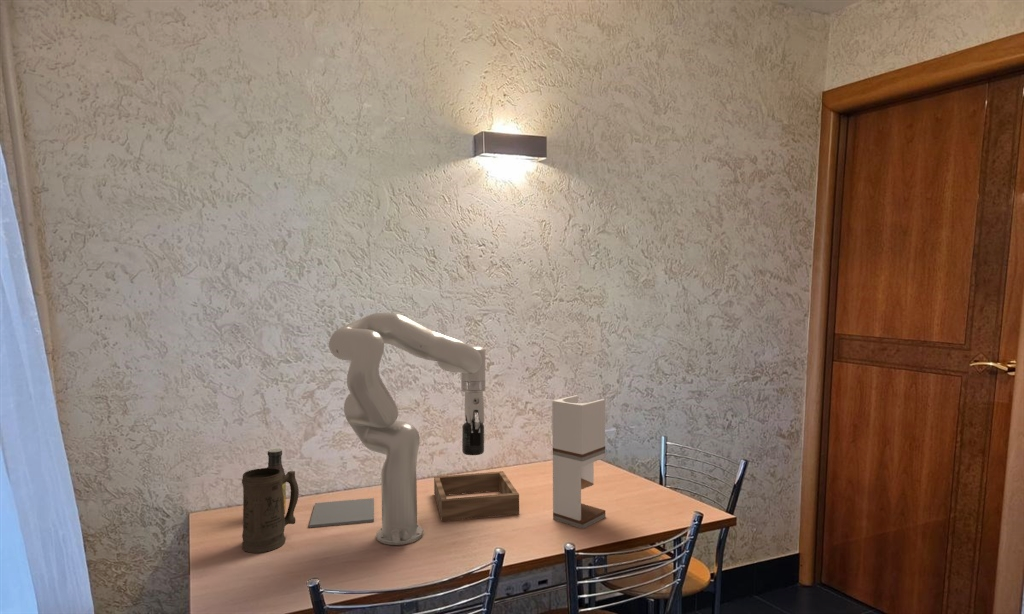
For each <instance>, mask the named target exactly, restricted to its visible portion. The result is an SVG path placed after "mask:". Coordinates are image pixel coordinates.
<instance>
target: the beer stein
mask: <svg viewBox="0 0 1024 614" xmlns="http://www.w3.org/2000/svg"><path fill="white" fill-rule="evenodd" d="M285 482H286V483H288V484H289V486H290V487H289V488H290V496H289V497H290V498H289V503H288V509H287V511H286V513H285V514H284V495H283V491H282V485H283V484H284V483H285ZM241 484H242V488H243V489H242V490H243V492H242V493H243V494H242V495H243V498H242V501H243V504H242V505H243V507H242V525H243V526H242V536H241V537H242V543H241V548H242V550H243V551H245V552H247V553H251V554H252V553H253V554H256V553H257V554H261V553H267V551H268V552H270V551H273V550H277V549H279V548H280V547H282V546H283V545H284V544H285V543H286V537H285V527H286V526H288V525H295V524H296V522H297V521H296V517H295V515H294V512H295V509H296V506H297V504H298V501H299V494H300V493H299V486H298V485H299V484H298V482H297V479H296V472H295V470H292V471H291V470H289V471H287V473H285V475H284V476H282V472H281V470H280V469H277V468H267V467H261V468H255V469H251V470H247V471H245V472H244V473H243V474H242V478H241ZM276 548H277V549H276Z"/></svg>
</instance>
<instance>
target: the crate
mask: <svg viewBox="0 0 1024 614" xmlns="http://www.w3.org/2000/svg"><path fill="white" fill-rule="evenodd" d="M433 479H434V480H433V482H434V483H433V485H434V486H433V488H434V489H433V490H434V491H433V493H434V494H435V495H434V498H436V499H435V502H436V501H437V502H436V505H438V506H437V508H439V509H438V513H439V512H440V513H439V515H440V519H442V520H441V522H449V521H448V520H453V521H460V520H461V521H463V520H472V519H482V518H483V519H485V518H494V517H501V516H502V517H505V516H512V515H513V516H514V515H520V493H519V492H518V491H517V489H516V488H515V486H514V485H513V484H512V482H511V480H510V479H509V478H508V476H507V475H506V473H505V472H504V471H491V472H480V473H479V472H476V473H465V474H454V475H453V474H451V475H439V476H438V475H437V476H433ZM497 490H500V491H499V492H500V494H499V493H497V494H488V495H485V494H484V495H476V496H465V497H452V498H447V496H450V495H449V494H457V495H463V494H462V493H468V494H475V493H474V492H480V493H486V491H492V492H498V491H497ZM462 519H463V520H462Z"/></svg>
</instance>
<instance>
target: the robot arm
mask: <svg viewBox="0 0 1024 614" xmlns="http://www.w3.org/2000/svg"><path fill="white" fill-rule="evenodd" d="M385 344H386V345H387V344H388V345H391V346H393V347H396V348H398V349H400V350H402V351H404V352H406V353H409V354H410V355H412V356H414V357H417V358H418V359H423V360H426V361H432V362H437V365H438V367H439V368H440V369H442V370H443V371H445V372H450V373H458V374H460V376H461V381H460V382H461V383H460V385H461V386H460V387H461V388H460V391H461V392H464V418H465V419H466V417H467V422H468V423H469V424H470V426H471V433H470V446H480V443H481V433H480V422H481V423H482V424H483V425H484V424H485V407H484V406H485V403H484V392H485V391H486V349H485V348H484V347H483V346H480V345H479V346H477V345H469V344H467V343H466V342H464V341H461V340H459V339H456V338H453V337H450V336H448V335H444V334H442V333H440V332H437V331H434V330H432V329H429V328H428V327H425V326H424V325H422V324H420V323H418V322H416V321H414V320H413V319H410V318H408V317H407V316H405V315H403V314H400V313H395V312H375V313H372V314H369V315H366V316H364V317H362V318H360V319H357V320H354V321H353V322H351V323H348V324H345V325H344V326H342V327H339V328H337V329H336V330H335V331H334V332H333V333H332V334H331V336H330V338H329V342H328V348H329V351H330V353H331V354H332V356H334V357H335V358H337V359H339V360H341V361H349V362H350V364H349V368H348V371H347V374H346V375H347V376H346V386H347V389H348V392H349V394H348V395H347V397H346V398H345V400H344V403H343V413H344V416H345V419H346V421H347V423H348V424H349V426H350V427H351V428H352V430H353V431H354V433H355V434H356V436H357V437H358V439H359V440H360V442H361V443H362V445H363V446H364V447H365V448H367V449H368V450H370V451H372V452H375V453H378V454H381V455H382V454H383V455H385V456H386V457H385V460H384V463H383V464H382V465H383V466H382V468H381V474H380V475H381V478H380V479H381V481H380V482H381V485H380V487H381V488H380V489H381V491H380V492H381V528H380V529H378V530H377V532H376V537H375V538H376V540H377V541H378V542H379V543H381V544H383V545H388V546H389V545H391V546H401V545H408V544H411V543H414V542H416V541H418V540H420V539H421V538H422V537H423V535H424V529H423V527H421V526H420V525H419V524H418V495H417V494H418V491H417V490H418V489H417V487H418V485H417V482H418V480H417V461H418V453H419V449H420V441H421V438H420V434H419V431H418V430H417V428H416V427H415V426H413V425H412V424H411V423H409V422H405V421H400V420H398V418H399V408H398V406H397V403H396V402H395V400H394V398H393V397H392V395H391V393H390V392H389V390H388V388H387V387H386V385H385V383H384V381H383V380H382V378H381V375H380V364H381V360H382V357H383V355H384V351H385ZM473 414H474V416H473ZM479 419H480V420H479ZM472 421H475V422H474V423H472ZM473 425H474V426H473Z"/></svg>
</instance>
